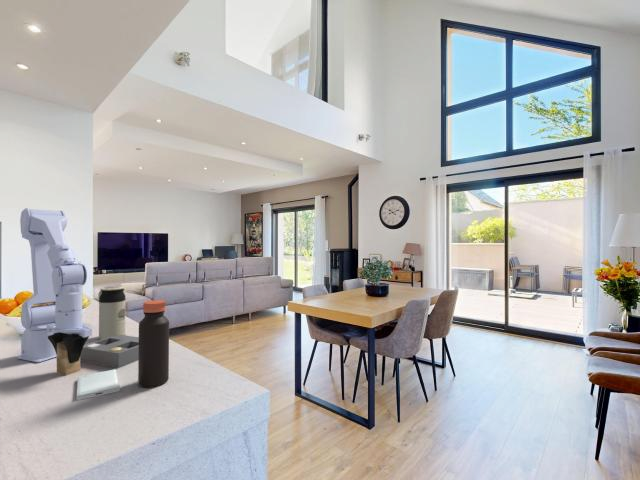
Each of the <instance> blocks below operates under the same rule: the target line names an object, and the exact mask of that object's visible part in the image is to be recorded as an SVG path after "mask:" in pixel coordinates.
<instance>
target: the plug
mask: <svg viewBox="0 0 640 480" xmlns="http://www.w3.org/2000/svg"><path fill="white" fill-rule="evenodd" d="M79 371H81V361H80V358H79V361H77V362H74V363H69V360H68V352H67V347H66V345H65V342H64V341H63V342H59V343H57V357H56V374H58V375H63V376H68V375H71V374H74V373H77V372H79Z"/></svg>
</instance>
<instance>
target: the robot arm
mask: <svg viewBox="0 0 640 480" xmlns="http://www.w3.org/2000/svg"><path fill="white" fill-rule="evenodd" d="M19 221H20V234H21V238H22V239H25V240H27V241H28V242H29V243H28V244H29V246H30V254H31V255H30V256H31V259H30V260H31V274H32V286H33V287H32V289H33V295H32V296H30V297H28V298H27V299H26V300H25V301H23V303H22V305H21V313H20V322H21V326H22V327H23V328H24V331H23V332H22V333H21V339H20V341H21V342H20V348H21V349H20V355H18V356H17V357H16V358H17V359H18V360H23V361H28V362H33V363H40V362H44V361H47V360H52V359H54V358H57V343H59V342H63V341H64V342H65V345H66V347H67V352H68V360H69V363H74V362H77V361H79V358H80V355H81V352H82V349H83V346H84V345H85V344H86V342H87V341H88V340H89V338H90V337H92V335H93V328H92V327H88V326H87V325H85V324H83V290H84V289H83V286H84V285H85V284H86V283H87V279H88V278H87V277H88V271H87V268H86V265H85V264H84V263H82V262H81V261H78V258H77V256H76V254H75V251H74V248H73V247H72V246H71V245H69V244H67V242H66V239H65V234H64V231H65V229H66V228H67V223H68V217H67V214H66V212H65V211H64V210H49V209H34V208H24V209H23V210H22V211H21V212H20V220H19Z"/></svg>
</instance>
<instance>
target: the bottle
mask: <svg viewBox="0 0 640 480" xmlns="http://www.w3.org/2000/svg"><path fill="white" fill-rule="evenodd" d="M142 305H143V307H142V308H143V309H142V311H143V314H144V317H143V318H142V319H141V320H140V321H139V322H138V337H139V353H138V360H137V361H138V362H137V363H138V365H137V366H138V367H137V368H138V369H137V370H138V373H137V375H138V376H137V377H138V379H137V384H138V386H140V387H142V388H149V389H150V388H154V387H159V386H162V385H164V384H165V383H167V382H168V380H169V371H170V369H169V368H170V363H169V361H170V360H169V359H170V356H169V355H170V321H169V319H168V318H167V316H165V315H164V314H165V312H166V300H163V299H156V300H155V299H154V300H147V301H144V302H143V303H142Z"/></svg>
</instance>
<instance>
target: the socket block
mask: <svg viewBox="0 0 640 480" xmlns="http://www.w3.org/2000/svg"><path fill="white" fill-rule="evenodd" d="M138 353H139V336H133V335H126V334H125V335H119V334H118V335H115V336H112V337H108V338H105V339H102V340H101V339H98V340H95V341H93V342H88V343H85V344H84V346H83V349H82V352H81V355H80V362H85V363H90V364H91V363H92V364H96V365H101V366H106V367H112V368H118V369H119V368H122V367H125V366H126V365H127V366H128V365H129V364H132V363H134V362H137V361H138Z"/></svg>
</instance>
